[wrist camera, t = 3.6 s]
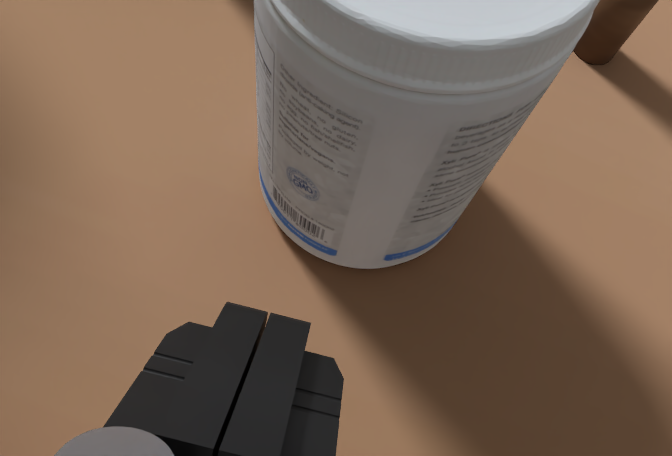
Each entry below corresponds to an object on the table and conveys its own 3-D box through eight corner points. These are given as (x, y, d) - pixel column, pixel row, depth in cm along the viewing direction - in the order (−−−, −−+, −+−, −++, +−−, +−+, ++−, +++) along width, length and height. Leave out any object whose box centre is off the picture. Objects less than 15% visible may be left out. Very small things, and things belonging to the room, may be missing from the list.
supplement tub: (448, 103, 31) (594, -199, 17) (469, 278, 27) (677, 62, 14) (257, 92, 30) (258, -240, 16) (250, 274, 26) (244, 33, 12)
